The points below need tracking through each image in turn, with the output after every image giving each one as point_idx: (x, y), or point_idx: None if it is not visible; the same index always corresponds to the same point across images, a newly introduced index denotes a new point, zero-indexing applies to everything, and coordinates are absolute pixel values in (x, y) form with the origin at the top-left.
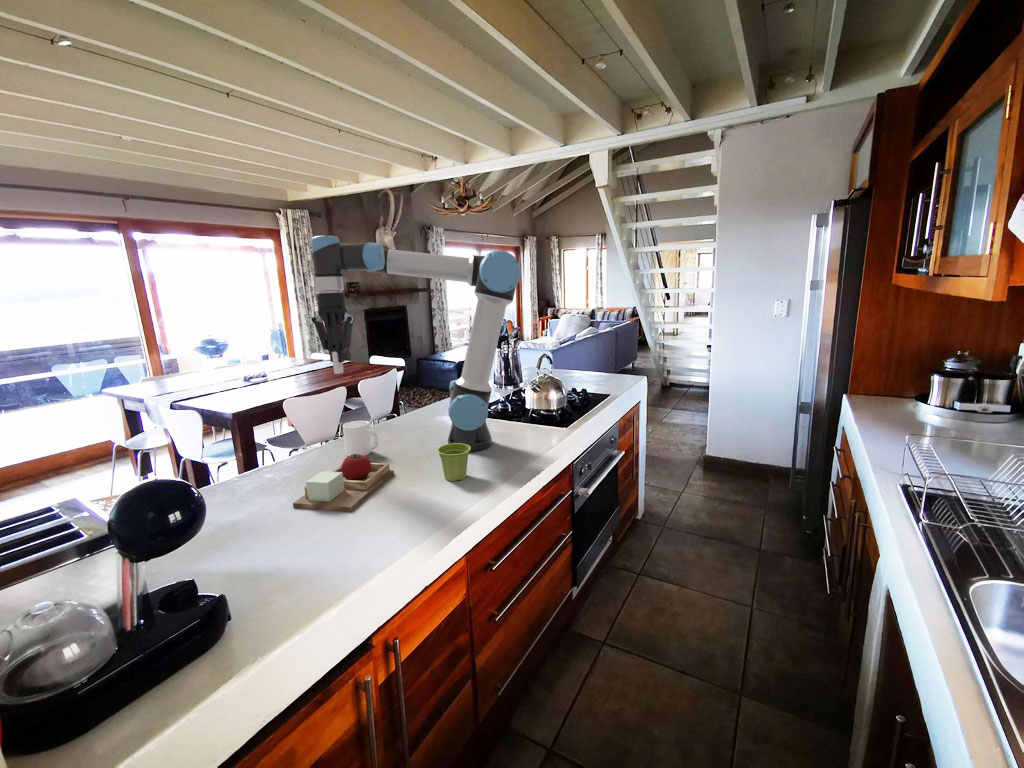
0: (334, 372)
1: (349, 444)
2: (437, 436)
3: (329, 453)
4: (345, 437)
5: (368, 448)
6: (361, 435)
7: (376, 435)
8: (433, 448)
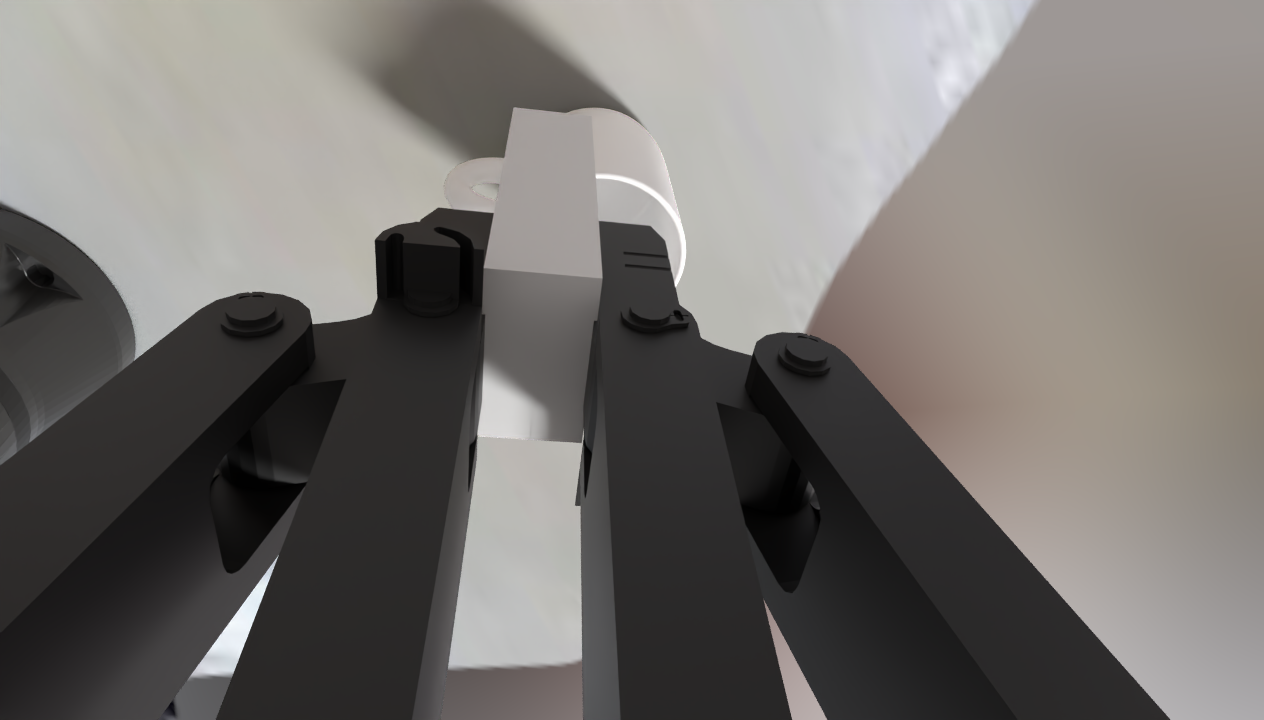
0: (584, 123)
1: (616, 133)
2: None
3: (770, 176)
4: (647, 161)
5: None
6: None
7: (447, 194)
8: (188, 260)
